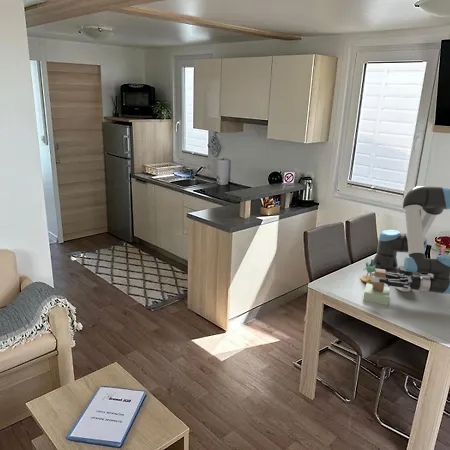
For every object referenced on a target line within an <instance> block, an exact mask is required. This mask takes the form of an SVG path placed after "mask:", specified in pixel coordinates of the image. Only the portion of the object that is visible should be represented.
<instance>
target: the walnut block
mask: <svg viewBox="0 0 450 450" xmlns="http://www.w3.org/2000/svg"><path fill="white" fill-rule="evenodd" d="M386 272H387V271H385V269H378V268H375V271H374V277H382V278H386ZM385 285H386V283H379V282H373V284H372V286H373V290H380V291H383V290H384V287H385Z"/></svg>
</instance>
